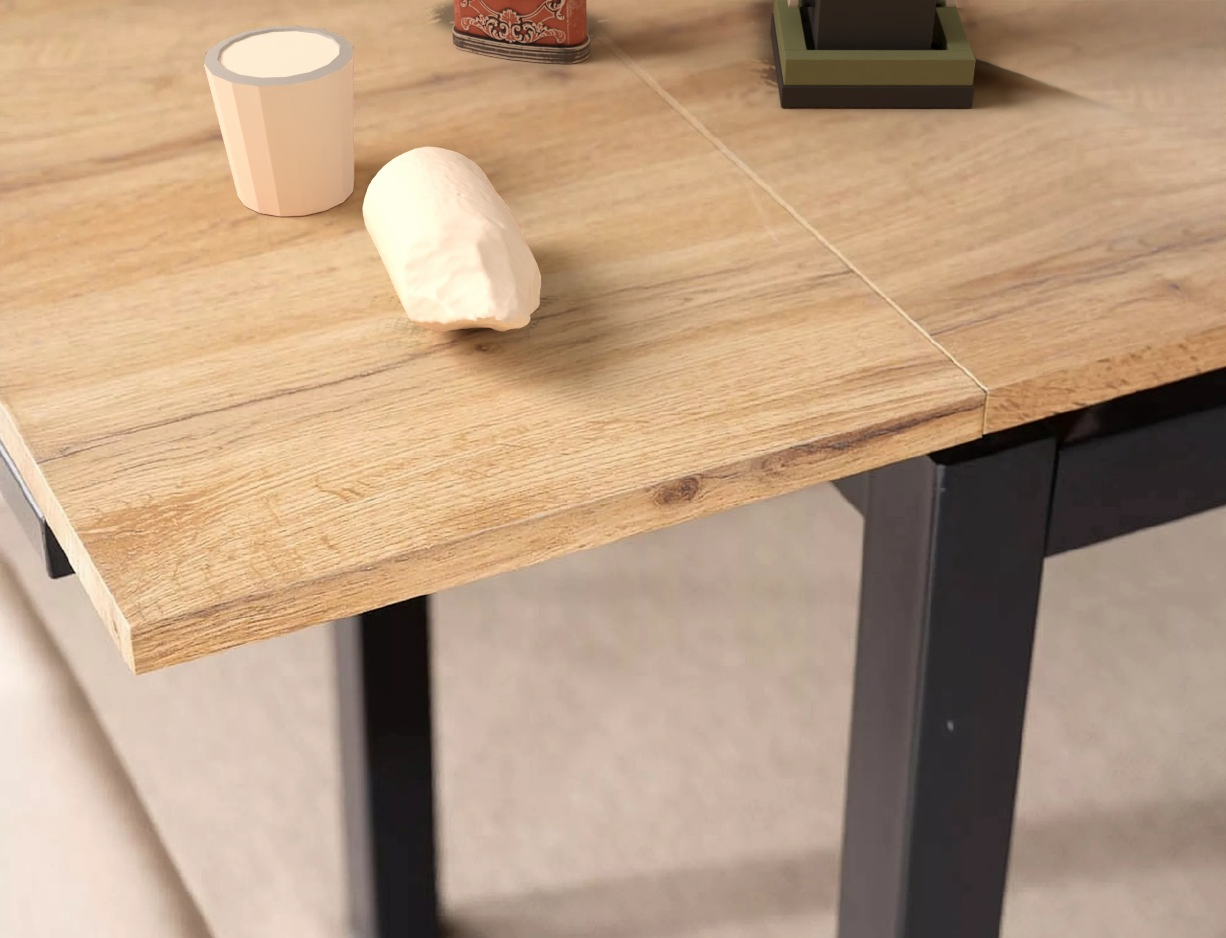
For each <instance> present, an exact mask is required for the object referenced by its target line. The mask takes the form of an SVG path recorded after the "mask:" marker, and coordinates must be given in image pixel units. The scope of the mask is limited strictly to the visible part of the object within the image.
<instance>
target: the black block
mask: <svg viewBox="0 0 1226 938" xmlns="http://www.w3.org/2000/svg"><path fill="white" fill-rule="evenodd" d="M935 7H936V0H816V1H815V7H808V17H809V23H810V28H811V33H812V38H813V44H814V49H815V50H931V43H932V42H933V33H934V30H933V25H934V16H935Z"/></svg>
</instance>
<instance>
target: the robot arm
mask: <svg viewBox="0 0 1226 938" xmlns="http://www.w3.org/2000/svg"><path fill="white" fill-rule="evenodd" d="M787 1H788V7H796V8H797V7H815V1H816V0H787ZM956 1H957V0H936V7H935V8H954V6H955V4H956Z"/></svg>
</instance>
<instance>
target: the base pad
mask: <svg viewBox="0 0 1226 938" xmlns="http://www.w3.org/2000/svg"><path fill="white" fill-rule="evenodd" d="M772 10H773V11H772V12H771V14H770V32H769V33H770V39H771V46H772V53H773V61H774V68H775V75H776V82H777V89H778V96H779V104H780V108H784V109H785V108H787V109H794V108H795V109H972V108H973V103H974V97H975V96H974V95H975V85H974V77H975V68H976V60H977V59H976V57H975V54H974V51H973V48H972V45H971V43H970V40H969V38H968V34H967V32H966V29H965V26H964V24H963V21H962V18H961V16H960V13H959V10H958V7H957V5H956V3H955V6H954V8H935V16H934V25H933V33H934V36H935V39H936V42H933V41H932V43H931V50H815V49H814V44H813V38H812V33H811V28H810V23H809V17H808V7H797V8H796V7H788V1H787V0H773V9H772Z"/></svg>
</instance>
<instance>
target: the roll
mask: <svg viewBox="0 0 1226 938" xmlns="http://www.w3.org/2000/svg"><path fill="white" fill-rule="evenodd" d="M368 184H369V185H368V186H367V190H366V193H365V195H364V199H363V204H362V208H361V209H362V217H363V220H364V226H365V228H366V230H367V232H368V234H369V237H370V238H371V240H372V242H373V244H374V246H375V248H376V250H377V252H378V254H379V256H380V259H381V260H382V263H383V266H384V268H385V269H386V272H387V274H388V276H389V278H390V282H391V283H392V286H393V288H394V290H395V292H396V295H397V297H398V299H399V300H400V303H401V305H402V308H403V309H404V311H405V313H406V315H407V317H408V319H409V320H410V321H412V322H413V323H414V324H415V325H416V326H418V327H421V328H422V329H426V330H430V331H434V332H439V333H445V332H450V331H459V330H463V329H464V330H467V329H469V330H470V329H486V328H488V329H492V330H495V331H499V332H506V331H509V330H514V329H521V328H524V327H526V326H527V325H528V324H529V323H530V322H531V315H532V314H533V313H534V312H535V311H536V310H537V309H539V307H540V304H541V300H540V297H541V290H542V275H541V271H540V268H539V265H538V263H537V260H536V259H535V257H534V254H533V252H532V250H531V248H530V246H529V245H528V243H527V241H526V238H525V237H524V235H523V233H522V230H521V229H520V226H519V223H518V221H517V220H516V218H515V216H514V215H513V213H512V211H511V209H510V208H509V206H508V205H507V203H506V201H505V200H504V198H503V197H502V196H500V194H498V192H497V191H496V188H495V187H494V186H493V184H492V182H491V181H490V180H489V177H488V176H487V175H486V173H485V171H483V169H482V168H481V167H480V165H478V164H477V163H476V162H475V161H473V160H472V159H470V158H469V157H467V156H465V155H464V154H461V153H460V152H457V151H454V150H451V149H447V148H442V147H438V146H437V147H435V146H421V147H417V148H416V147H415V148H413V149H410V150H407V151H406V152H403V153H401V154H400V155H398V156H396V157H394V158H392V159H391V160H390V161H388V162H387V163H386V164H385V165H384V166H383V167H382V168H381V169H379V170H378V172H377V173H376V175H375V176H374V177H373V178H372V179H371V181H370V183H368Z"/></svg>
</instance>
